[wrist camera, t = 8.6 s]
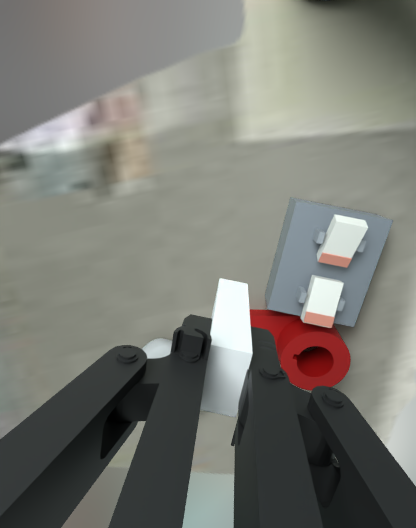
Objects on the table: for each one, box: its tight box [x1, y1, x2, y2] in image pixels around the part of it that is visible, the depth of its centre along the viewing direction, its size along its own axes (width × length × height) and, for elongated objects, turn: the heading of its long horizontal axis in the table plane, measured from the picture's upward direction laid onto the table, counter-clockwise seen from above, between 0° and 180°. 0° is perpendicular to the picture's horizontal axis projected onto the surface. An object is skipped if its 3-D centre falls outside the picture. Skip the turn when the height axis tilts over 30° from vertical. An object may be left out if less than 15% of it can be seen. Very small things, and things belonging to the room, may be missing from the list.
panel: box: [265, 197, 393, 327], centre depth 44 cm, size 15×12×7 cm
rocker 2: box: [301, 275, 344, 328], centre depth 41 cm, size 6×4×2 cm, turn 170°
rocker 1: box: [317, 214, 368, 268], centre depth 39 cm, size 6×4×2 cm, turn 170°
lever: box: [249, 310, 350, 390], centre depth 48 cm, size 18×9×7 cm, turn 77°
